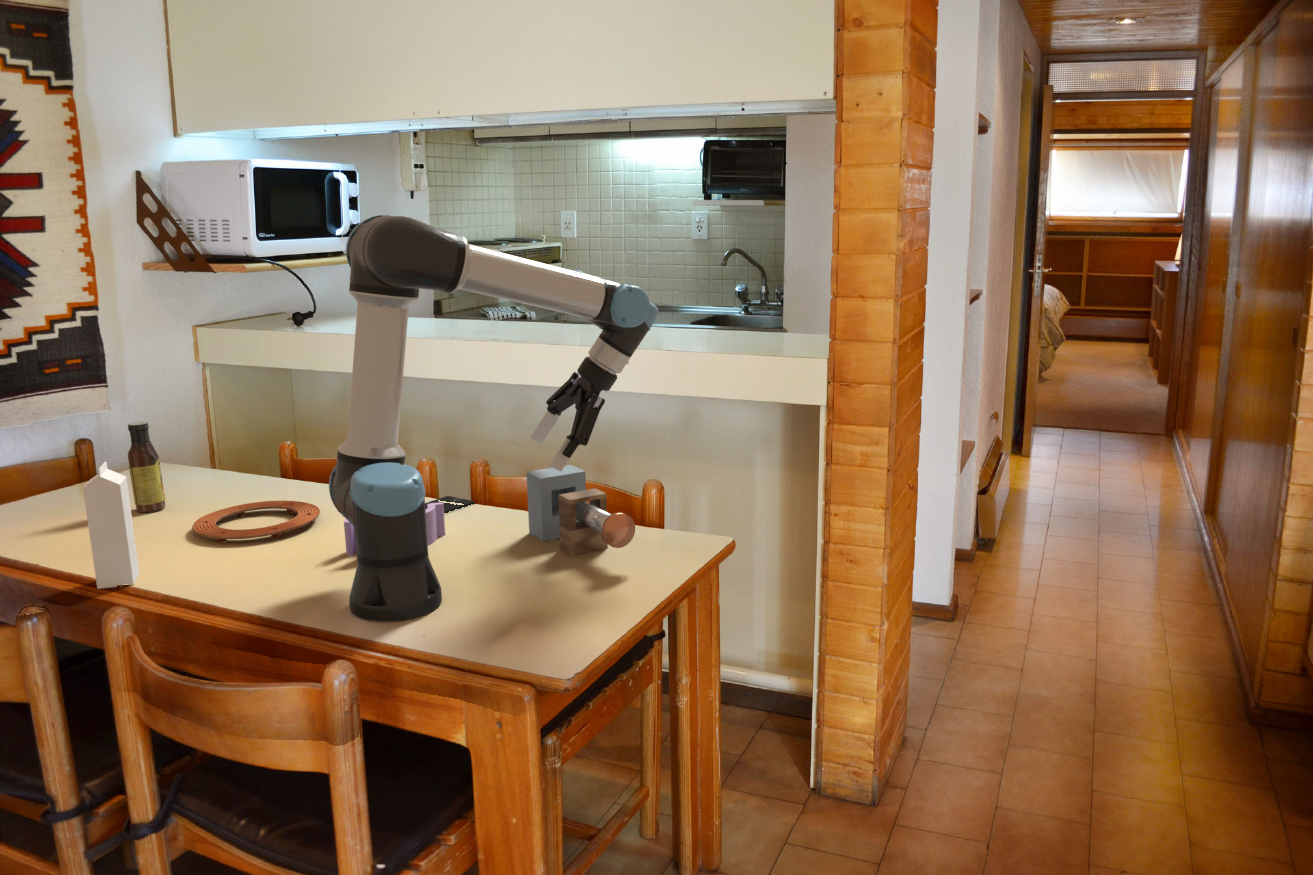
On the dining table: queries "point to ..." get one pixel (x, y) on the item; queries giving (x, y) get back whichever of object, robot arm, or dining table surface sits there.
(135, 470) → the sauce bottle
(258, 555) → the dining table surface
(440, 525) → the clip
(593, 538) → the sleeve
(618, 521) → the pin
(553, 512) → the socket block
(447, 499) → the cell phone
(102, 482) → the milk
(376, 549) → the robot arm
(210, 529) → the ring
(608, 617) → the dining table surface
